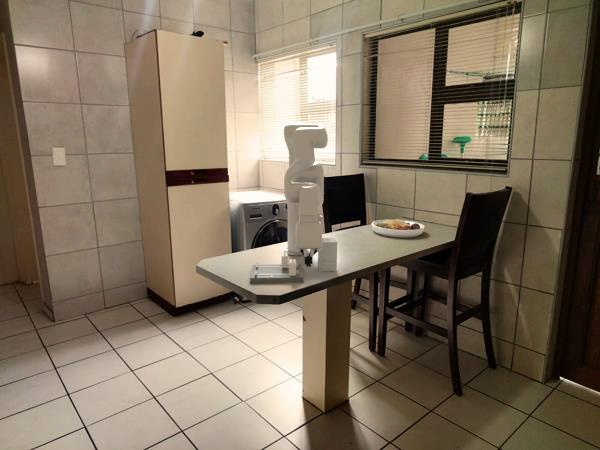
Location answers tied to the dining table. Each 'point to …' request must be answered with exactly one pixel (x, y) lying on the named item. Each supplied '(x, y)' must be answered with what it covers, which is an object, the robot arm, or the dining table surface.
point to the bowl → (397, 228)
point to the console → (275, 274)
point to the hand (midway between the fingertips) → (308, 265)
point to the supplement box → (328, 255)
